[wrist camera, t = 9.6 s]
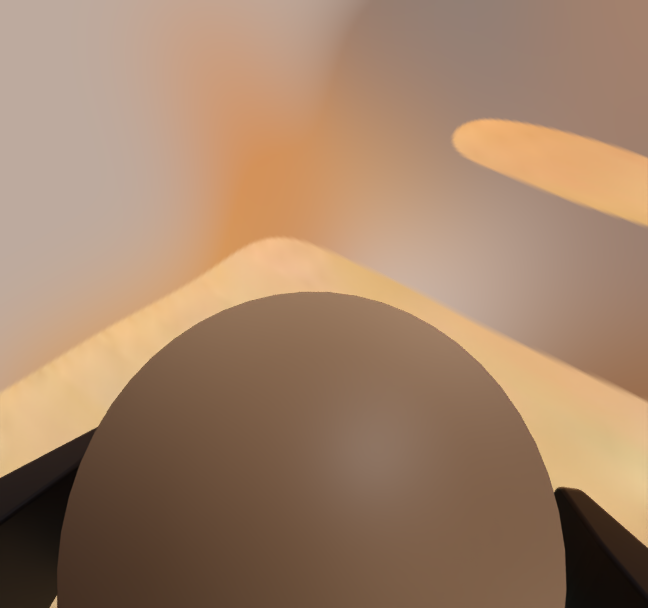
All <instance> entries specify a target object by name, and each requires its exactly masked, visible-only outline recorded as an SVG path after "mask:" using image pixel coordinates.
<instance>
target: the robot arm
mask: <svg viewBox="0 0 648 608" xmlns="http://www.w3.org/2000/svg"><path fill="white" fill-rule="evenodd" d="M97 428H98V427H97ZM97 428H95V429H93V430H91V431H89V432H87V433H85V434H83V435H81V436H79V437H78V438H76V439H74V440H72V441H70V442H68V443H66V444H64V445H62V446H60V447H58V448H57V449H55V450H53V451H51V452H49V453H47V454H45V455H43V456H41V457H39V458H38V459H36V460H34V461H32V462H30V463H28V464H26V465H24V466H22V467H20V468H18V469H17V470H15V471H13V472H11V473H9V474H7V475H5V476H3V477H1V478H0V608H49V607H50V606H51V604H52V602H53V601H54V599H55V598H56V596H57V566H58V557H59V548H60V538H61V530H62V526H63V521H64V517H65V512H66V508H67V503H68V499H69V495H70V492H71V489H72V486H73V483H74V480H75V477H76V474H77V471H78V469H79V466H80V463H81V461H82V458H83V456H84V454H85V452H86V450H87V448H88V446H89V443H90V441H91V439H92V437H93V435H94V433H95V431H96V429H97ZM554 496H555V499H556V503H557V507H558V510H559V515H560V522H561V528H562V534H563V541H564V547H565V566H566V600H565V608H648V548H647V547H646V546H645V545H644V544H643V543H641V542H640V541H639V540H638V539H637V538H636V537H635V536H633V535H632V534H631V533H630V532H629V531H628V530H627V529H625V528H624V527H623V526H622V525H621V524H620V523H619V522H617V521H616V520H615V519H614V518H613V517H612V516H611V515H609V514H608V513H607V512H606V511H605V510H604V509H603V508H601V507H600V506H599V505H598V504H597V503H596V502H594V501H593V500H592V499H591V498H590V497H589V496H588V495H586V494H585V493H584V492H583V491H581V490H579V489H574V488H567V487H558V488H557V489H556V490H555V492H554Z"/></svg>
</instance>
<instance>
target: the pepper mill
mask: <svg viewBox="0 0 648 608" xmlns="http://www.w3.org/2000/svg"><path fill="white" fill-rule="evenodd" d="M565 600H566V566H565V547H564V541H563V534H562V528H561V522H560V515H559V510H558V507H557V503H556V499H555V496H554V492H553V488H552V485H551V481H550V478H549V475H548V472H547V470H546V467H545V465H544V462H543V460H542V457H541V455H540V452H539V450H538V448H537V445H536V443H535V441H534V439H533V437H532V435H531V434H530V432H529V430H528V428H527V426H526V424H525V423H524V421H523V419H522V417H521V415H520V413H519V412H518V411H517V409H516V408H515V406H514V405H513V403H512V402H511V401H510V399H509V398H508V396H507V395H506V393H505V392H504V391H503V389H502V388H501V386H500V385H499V384H498V383H497V382H496V381H495V380H494V379H493V377H492V376H491V375H490V374H489V373H488V372H487V371H486V370H485V368H484V367H483V366H482V365H481V364H480V363H479V362H478V361H477V360H476V359H475V358H473V357H472V356H471V355H470V354H469V353H468V352H467V351H466V350H465V349H463V348H462V347H461V346H460V345H459V344H458V343H456V342H455V341H454V340H452V339H451V338H449V337H448V336H446V335H445V334H444V333H442V332H441V331H439V330H438V329H437V328H435V327H434V326H432V325H430V324H428V323H426V322H424V321H423V320H421V319H419V318H417V317H415V316H413V315H411V314H410V313H407V312H405V311H402V310H400V309H397V308H395V307H392V306H390V305H387V304H385V303H382V302H378V301H374V300H370V299H366V298H362V297H359V296H354V295H346V294H339V293H331V292H298V293H288V294H279V295H273V296H269V297H265V298H260V299H256V300H252V301H248V302H245V303H243V304H240V305H237V306H234V307H232V308H229V309H226V310H223V311H221V312H219V313H217V314H215V315H213V316H211V317H209V318H207V319H205V320H203V321H201V322H199V323H198V324H196V325H195V326H193V327H192V328H190V329H189V330H187V331H185V332H184V333H182V334H181V335H179V336H178V337H176V338H175V339H174V340H172V341H171V342H170V343H169V344H168V345H166V346H165V347H164V348H163V349H162V350H160V351H159V352H158V353H157V354H156V355H154V356H153V357H152V358H151V359H150V360H149V361H148V362H147V363H146V364H145V365H144V366H143V367H142V368H141V369H140V370H139V371H138V373H137V374H136V375H135V376H134V377H133V378H132V379H131V380H130V381H129V382H128V384H127V385H126V386H125V388H124V389H123V390H122V392H121V393H120V394H119V396H118V397H117V398H116V399H115V401H114V402H113V403H112V405H111V406H110V408H109V410H108V411H107V413H106V415H105V416H104V418H103V419H102V421H101V423H100V424H99V426H98V428H97V429H96V431H95V433H94V435H93V437H92V439H91V441H90V443H89V446H88V448H87V450H86V452H85V454H84V456H83V458H82V461H81V463H80V466H79V469H78V471H77V474H76V477H75V480H74V483H73V486H72V489H71V492H70V495H69V499H68V503H67V508H66V512H65V517H64V521H63V526H62V530H61V538H60V548H59V557H58V566H57V608H565Z"/></svg>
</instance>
